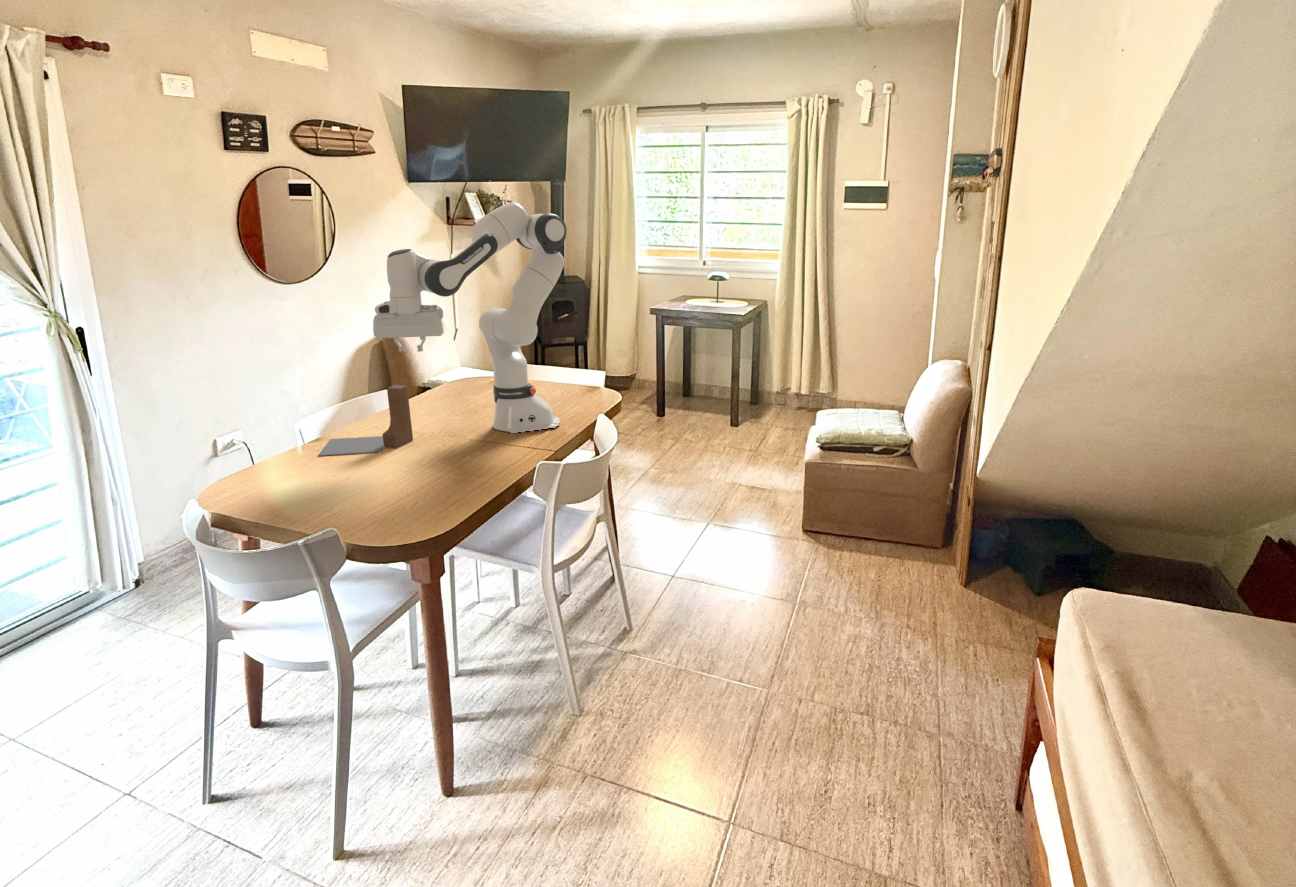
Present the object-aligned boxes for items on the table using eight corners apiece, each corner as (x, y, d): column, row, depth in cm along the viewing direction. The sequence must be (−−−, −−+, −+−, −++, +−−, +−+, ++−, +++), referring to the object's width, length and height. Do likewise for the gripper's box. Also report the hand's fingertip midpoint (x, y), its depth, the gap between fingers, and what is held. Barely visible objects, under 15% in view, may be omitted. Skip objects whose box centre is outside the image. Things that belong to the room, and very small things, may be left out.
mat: (389, 436, 240) (389, 435, 240) (380, 452, 225) (380, 451, 225) (330, 440, 237) (330, 439, 237) (318, 456, 222) (318, 455, 222)
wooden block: (395, 448, 229) (388, 392, 223) (383, 447, 230) (376, 391, 224) (413, 440, 237) (407, 385, 231) (401, 438, 238) (395, 384, 232)
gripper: (443, 303, 226) (447, 348, 230) (373, 305, 222) (378, 350, 227) (441, 306, 220) (445, 352, 224) (369, 308, 216) (375, 354, 221)
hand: (411, 351), depth 225 cm, fingers open, 4 cm apart
